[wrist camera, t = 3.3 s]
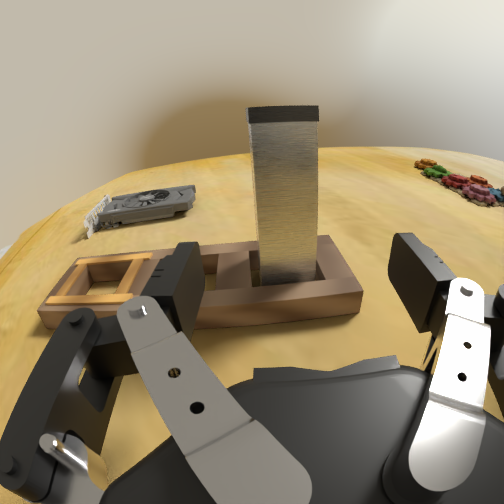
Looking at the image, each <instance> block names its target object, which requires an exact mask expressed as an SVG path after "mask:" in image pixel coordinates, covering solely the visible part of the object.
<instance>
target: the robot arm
mask: <svg viewBox="0 0 504 504" xmlns="http://www.w3.org/2000/svg"><path fill="white" fill-rule="evenodd" d="M388 276H389V280H390V282H391V283H392V285H393V287H394V288H395V290H396V292H397V294H398V295H399V297H400V299H401V301H402V302H403V304H404V306H405V308H406V310H407V311H408V313H409V315H410V317H411V319H412V321H413V322H414V324H415V326H416V328H417V330H418V332H419V333H424V332H429V331H431V333H432V334H431V337H430V339H429V341H428V345H427V348H426V351H425V354H424V358H423V361H422V364H421V366H420V369H418V368H414V367H410V366H404V365H399V362H398V360H397V357H396V355H393V356H387V357H380V358H373V359H366V360H362V361H359V362H357V363H354V364H351V365H348V366H345V367H343V368H340V369H337V370H334V371H319V370H311V369H303V368H296V367H275V368H254V373H253V379H250V380H246V381H243V382H240V383H237V384H235V385H233V386H231V387H229V388H227V389H226V388H225V387H224V386H223V384H222V383H221V382H220V381H219V379H218V378H217V377H216V376H215V374H214V373H213V372H212V371H211V369H210V368H209V367H208V365H207V364H206V363H205V362H204V360H203V359H202V358H201V356H200V355H199V354H198V352H197V351H196V350H195V348H194V347H193V346H192V344H191V343H190V341H191V337H192V333H193V330H194V326H195V322H196V318H197V315H198V311H199V307H200V304H201V300H202V297H203V293H204V289H205V275H204V269H203V264H202V259H201V253H200V248H199V244H198V242H181V243H178V245H177V247H176V248H175V250H174V252H173V254H172V255H167V256H165V257H164V258H163V259H162V260H160V261H159V262H158V264H157V266H156V267H155V269H154V271H153V272H152V274H151V277H150V278H149V280H148V281H147V283H146V285H145V287H144V288H143V290H142V292H141V294H140V296H137V297H134V298H131V299H129V300H127V301H125V302H124V303H123V304H122V305H121V306H120V307H119V308H118V310H117V315H113V316H108V317H103V318H98V319H97V317H96V315H95V313H94V311H93V310H92V309H90V308H86V307H83V308H78V309H75V310H73V311H71V312H70V313H68V314H67V315H66V316H65V317H64V318H63V319H62V321H61V322H60V324H59V326H58V327H57V329H56V330H55V332H54V334H53V335H52V337H51V339H50V340H49V342H48V344H47V345H46V347H45V349H44V351H43V352H42V354H41V356H40V358H39V360H38V361H37V363H36V365H35V367H34V369H33V371H32V372H31V374H30V376H29V378H28V380H27V382H26V384H25V386H24V388H23V390H22V392H21V394H20V396H19V398H18V400H17V402H16V405H15V407H14V409H13V411H12V413H11V416H10V418H9V420H8V423H7V425H6V427H5V430H4V432H3V435H2V437H1V440H0V484H1V485H2V486H3V487H4V488H6V489H8V490H9V491H11V492H13V493H15V494H17V495H18V496H20V497H22V498H23V499H24V500H26V501H28V502H30V503H32V504H504V423H503V422H502V421H500V420H499V419H497V418H496V417H494V416H493V415H491V414H490V413H488V412H487V411H485V410H484V409H483V403H484V397H485V391H486V383H487V379H488V381H489V383H490V385H491V388H492V390H493V392H494V395H495V397H496V399H497V402H498V404H499V407H500V410H501V412H502V415H503V417H504V284H502V285H500V287H499V289H498V291H497V294H496V296H495V295H487V294H484V293H483V290H482V288H481V287H480V286H479V285H478V284H476V283H475V282H473V281H471V280H469V279H466V278H457V277H456V276H455V275H454V273H453V272H452V271H451V270H450V269H449V268H448V266H447V265H446V264H445V263H443V261H442V260H441V258H440V257H438V255H437V254H436V253H435V252H434V251H433V250H432V249H431V248H429V247H428V246H426V245H424V244H423V243H422V242H421V241H420V240H419V239H418V238H417V237H416V236H415V235H414V234H413V233H396V234H395V235H394V237H393V241H392V247H391V253H390V259H389V264H388ZM83 367H85V368H86V371H85V373H84V375H83V378H82V380H81V382H80V385H78V380H79V376H80V374H81V371H82V369H83ZM136 373H140V375H141V378H142V380H143V382H144V384H145V386H146V388H147V390H148V392H149V394H150V396H151V398H152V400H153V402H154V404H155V406H156V407H157V409H158V411H159V413H160V415H161V417H162V419H163V420H164V422H165V424H166V426H167V427H168V429H169V431H170V433H171V434H172V435H171V436H170V437H169V438H168V439H167V440H165V441H164V442H163V443H162V444H161V445H159V446H158V447H157V448H156V449H154V450H153V451H152V452H151V453H149V454H148V455H147V456H146V457H144V458H143V459H142V460H141V461H139V462H138V463H137V464H136V465H134V466H133V467H132V468H130V469H129V470H128V471H126V472H125V473H124V474H122V475H121V476H120V477H118V478H117V479H116V480H115V481H113V482H112V483H111V484H110V485H109V486H108V477H107V467H106V464H105V462H104V461H103V459H102V458H101V457H100V454H101V450H102V446H103V442H104V439H105V435H106V431H107V428H108V424H109V421H110V417H111V414H112V410H113V407H114V404H115V401H116V397H117V394H118V391H119V388H120V385H121V382H122V379H123V376H124V375H130V374H136Z"/></svg>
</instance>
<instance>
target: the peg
mask: <svg viewBox="0 0 504 504" xmlns="http://www.w3.org/2000/svg"><path fill="white" fill-rule="evenodd" d="M246 119H247V122H248V127H249V138H250V153H251V166H252V179H253V192H254V206H255V220H256V233H257V247H258V262H259V275H260V282H261V286H271V285H281V284H292V283H301V282H311V281H315V273H316V252H317V223H318V138H317V121H319V109H318V106H268V107H267V106H266V107H250V108H246Z"/></svg>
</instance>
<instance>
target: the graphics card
mask: <svg viewBox="0 0 504 504" xmlns="http://www.w3.org/2000/svg"><path fill="white" fill-rule="evenodd" d="M194 193H196V190H195V185H188V186H180V187H172V188H165V189H158V190H151V191H145V192H139V193H133V194H127V195H122V196H116V197H113V198H112V202H111V200H110V196H109V195H106V196H104V198H103V199H102V200H101V201H100V202H99V203H98V204H97V205H96V206H95V207H94V208H93V209H92V210H91V211H90V212H89V213H88V214H87V215H86V216H85V221H84V226H85V228H86V227H88V232H87V236H88V239H89V238H90V236H91V235H92V234H93V233H94V232H95V231H99V229H100V228H101V227H107V228H106V229H108V228H111V227H108V226H113V228H114V227H118V226H119V225H120V224H118V223H117V222H120V221H122V224H127V223H133V222H140V221H146V220H153V219H160V218H167V217H173V216H174V214H175V211H182V210H189V209H191V208H193V206H192V203H193V202H194V200H195V194H194ZM102 202H103V205H104V207H103V205H102ZM108 202H109V203H108ZM100 205H102V210H103V211H102V212H101V210H100V208H101V206H100ZM97 208H99V210H100V213H99V211H98V209H97ZM95 210H96V211H97V214H96V212H95ZM93 212H94V214H95V216H97V215H98V216H97V217H96V219H95V217H94V215H93ZM90 214H91V215H90ZM90 217H91V218H90ZM89 218H90V219H89ZM88 219H89V220H88ZM92 219H93V220H92ZM91 220H92V221H91ZM89 221H90V222H89ZM88 222H89V223H88ZM103 222H105V225H106V226H103V225H104V224H103ZM110 224H112V225H110ZM113 224H114V225H113ZM107 225H108V226H107Z"/></svg>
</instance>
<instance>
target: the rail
mask: <svg viewBox="0 0 504 504" xmlns="http://www.w3.org/2000/svg"><path fill="white" fill-rule="evenodd" d="M199 248H200V253H201V259H202V264H203V269H204V274H212V273H217V278H216V288H215V290H212V291H204V293H203V297H202V300H201V304H200V307H199V311H198V315H197V318H196V322H195V326H194V329H207V328H223V327H237V326H250V325H261V324H272V323H282V322H291V321H299V320H308V319H316V318H323V317H331V316H338V315H345V314H351V313H358V312H360V307H361V302H362V296H363V289H362V287H361V285H360V284H359V282H358V281H357V279H356V277H355V276H354V274H353V272H352V271H351V269H350V267H349V266H348V264H347V263H346V261H345V259H344V258H343V256H342V255H341V253H340V252H339V250H338V248H337V247H336V245H335V244H334V242H333V241H332V239H331V238H330V236H329V235H320V236H317V252H316V273H315V280H316V281H311V282H301V283H292V284H281V285H271V286H260V287H252V283H251V272H250V270H259V262H258V247H257V241H248V242H237V243H226V244H215V245H204V246H199ZM174 250H175V248H172V249H161V250H151V251H140V252H130V253H120V254H110V255H101V256H91V257H81V258H77V259H76V260H75V262H74V263H73V264H72V265H71V266H70V268H69V269H68V270H67V271H66V273H65V274H64V275H63V276H62V278H61V279H60V280H59V281H58V283H57V284H56V285H55V287H54V288H53V289H52V291H51V292H50V293H49V295H48V296H47V297H46V299H45V300H44V301H43V303H42V304H41V305H40V307H39V308H38V310H37V312H38V314H39V316H40V317H41V319H42V321H43V323H44V325H45V326H46V328H50V329H57V327H58V326H59V324H60V322H61V321H62V319H63V318H64V317H65V316H66V315H67V314H68V313H70V312H71V311H73V310H75V309H78V308H83V307H86V308H90V309H92V310H93V311H94V313H95V315H96V317H97V319H98V318H103V317H108V316H113V315H117V310H118V308H119V307H120V306H121V305H122V304H123V303H124V302H125V301H127V300H129V299H131V298H134V297H137V296H140V294H141V292H142V290H143V288H144V287H145V285H146V283H147V281H148V280H149V278H150V277H151V274H152V272H153V271H154V269H155V267H156V266H157V264H158V262H159V261H160V260H162V259H163V258H164V257H165V256H167V255H172V254H173V252H174ZM116 280H122V281H121V283H120V284H119V286H118V288H117V290H116V292H115V294H105V295H86V293H87V292H88V290H89V289H90V287H91V285H92V284H93V282H100V281H116Z"/></svg>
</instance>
